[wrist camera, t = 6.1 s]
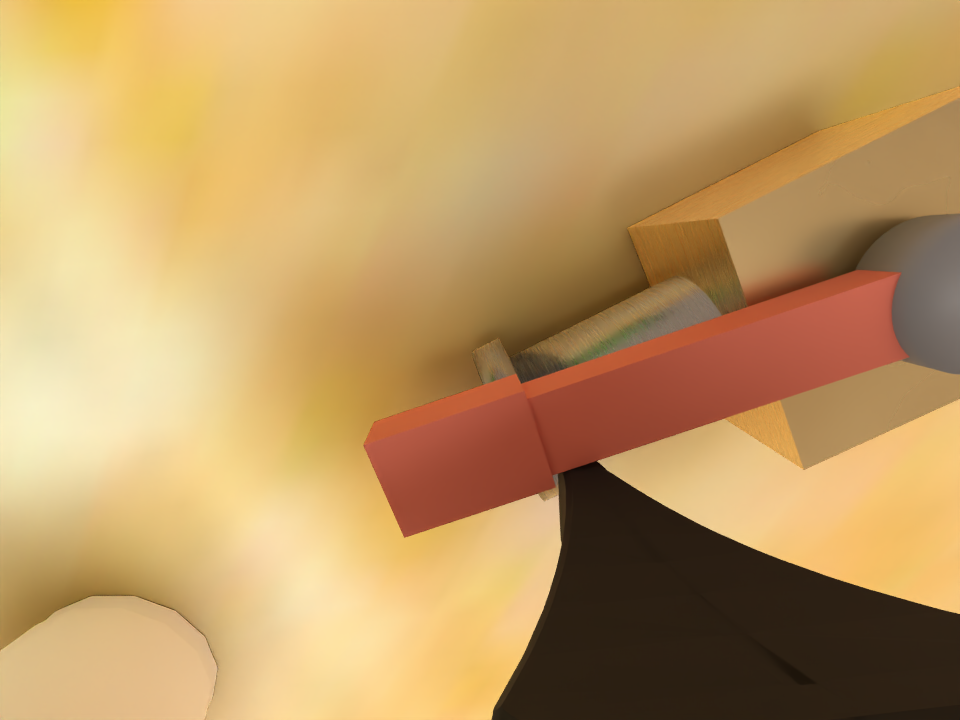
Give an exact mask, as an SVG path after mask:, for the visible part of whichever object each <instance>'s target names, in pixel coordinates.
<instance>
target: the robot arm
mask: <svg viewBox="0 0 960 720" xmlns="http://www.w3.org/2000/svg"><path fill="white" fill-rule="evenodd" d="M558 489H559V510H560V531H561V542H562V546H561V551H560V556H559V560H558V564H557V568H556V572H555V575H554V579H553V582H552V585H551V589H550V592H549V595H548V598H547V601H546V604H545V606H544V609H543V612H542V614H541V616H540V619H539V621H538V623H537V626H536V628H535V630H534V632H533V635H532V637H531V639H530V642H529V644H528V646H527V649H526V651H525V653H524V655H523V657H522V659H521V661H520V662H519V664H518V666H517V668H516V670H515V671H514V673H513V675H512V677H511V679H510V680H509V682H508V684H507V686H506V687H505V689H504V691H503V693H502V695H501V696H500V698H499V700H498V702H497V704H496V705H495V707H494V710H493V716H492V720H960V614H957V613H953V612H948V611H944V610H940V609H937V608H933V607H929V606H925V605H922V604H918V603H915V602H911V601H908V600H904V599H901V598H897V597H894V596H890V595H887V594H883V593H880V592H876V591H873V590H869V589H866V588H863V587H859V586H856V585H853V584H850V583H847V582H844V581H840V580H837V579H834V578H831V577H828V576H825V575H822V574H820V573H817V572H814V571H811V570H808V569H806V568H803V567H800V566H797V565H794V564H792V563H789V562H786V561H783V560H780V559H778V558H775V557H773V556H770V555H768V554H765V553H762V552H760V551H757V550H755V549H753V548H750V547H748V546H746V545H743V544H741V543H739V542H737V541H734V540H732V539H730V538H728V537H725V536H723V535H721V534H718V533H716V532H714V531H712V530H710V529H708V528H706V527H704V526H702V525H700V524H698V523H696V522H694V521H692V520H690V519H688V518H686V517H684V516H683V515H681V514H679V513H677V512H675V511H673V510H671V509H669V508H668V507H666V506H664V505H662V504H661V503H659V502H657V501H655V500H654V499H652V498H650V497H649V496H647V495H645V494H644V493H642V492H640V491H639V490H637V489H635V488H634V487H632V486H631V485H629V484H627V483H626V482H624V481H623V480H621V479H620V478H618V477H617V476H615V475H613V474H612V473H610V472H609V471H607V470H606V469H605V468H604V467H603V466H602V465H601V464H600V463H598V462H597V461H595V462H592V463H589V464H586V465H583V466H580V467H577V468H574V469H571V470H568V471H564V472H561V473H558Z"/></svg>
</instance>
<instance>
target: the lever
mask: <svg viewBox="0 0 960 720" xmlns="http://www.w3.org/2000/svg"><path fill="white" fill-rule="evenodd" d="M899 360H900V361H904V362H908V363H912V364H915V365H919V366H923V367H927V368H931V369H935V370H939V371H942V372H946V373H951V374H959V375H960V213H959V214H943V215H928V216H921V217H917V218H913V219H910V220H907V221H905V222H902V223H900V224H898V225H897V226H895V227H893V228H891V229H890V230H889V231H887V232H886V233H884V234H883V235H882V236H881V237H880V238H878V239H877V240H876V241H875V242H874V243H873V244H872V245H871V247H870V248H869V249H868V250H867V251H866V253H865V254H864V255H863V257H862V258H861V260H860V262H859V263H858V265H857V267H856V269H855V271H852V272H849V273H847V274H844V275H841V276H838V277H835V278H832V279H829V280H826V281H823V282H820V283H817V284H814V285H811V286H808V287H805V288H802V289H799V290H796V291H793V292H791V293H788V294H785V295H782V296H779V297H776V298H773V299H770V300H767V301H764V302H761V303H758V304H755V305H752V306H749V307H746V308H743V309H740V310H737V311H734V312H732V313H729V314H726V315H723V316H720V317H717V318H714V319H711V320H708V321H705V322H702V323H699V324H696V325H693V326H690V327H687V328H684V329H681V330H678V331H675V332H673V333H670V334H667V335H664V336H661V337H658V338H655V339H652V340H649V341H646V342H643V343H640V344H637V345H634V346H631V347H628V348H625V349H622V350H619V351H616V352H614V353H611V354H608V355H605V356H602V357H599V358H596V359H593V360H590V361H587V362H584V363H581V364H578V365H575V366H572V367H569V368H566V369H563V370H560V371H557V372H555V373H552V374H549V375H546V376H543V377H540V378H537V379H534V380H531V381H528V382H525V383H522V384H521V383H520V381H519V379H518V377H517V374H514V375H511V376H508V377H505V378H502V379H499V380H496V381H493V382H490V383H487V384H484V385H481V386H478V387H475V388H473V389H470V390H467V391H464V392H461V393H458V394H455V395H452V396H449V397H446V398H443V399H440V400H437V401H434V402H431V403H428V404H425V405H423V406H420V407H417V408H414V409H411V410H408V411H405V412H402V413H399V414H396V415H393V416H390V417H387V418H384V419H381V420H378V421H375V422H374V424H373V426H372V428H371V430H370V432H369V434H368V437H367V439H366V441H365V443H364V448H365V450H366V452H367V454H368V457H369V459H370V461H371V463H372V466H373V468H374V470H375V472H376V475H377V477H378V479H379V482H380V484H381V486H382V488H383V491H384V493H385V495H386V497H387V500H388V502H389V504H390V506H391V509H392V511H393V513H394V515H395V518H396V520H397V522H398V524H399V527H400V529H401V531H402V533H403V536H404V538H405V537H408V536H411V535H414V534H417V533H420V532H423V531H426V530H429V529H432V528H435V527H438V526H441V525H444V524H447V523H450V522H453V521H456V520H459V519H462V518H465V517H468V516H471V515H474V514H477V513H480V512H483V511H486V510H489V509H492V508H495V507H498V506H502V505H505V504H508V503H511V502H514V501H517V500H520V499H523V498H526V497H529V496H532V495H535V494H538V493H541V492H544V491H547V490H550V489H553V488H556V485H555V482H554V479H553V476H552V475H555V474H558V473H561V472H564V471H568V470H571V469H574V468H577V467H580V466H583V465H586V464H589V463H592V462H595V461H598V460H601V459H604V458H607V457H610V456H613V455H616V454H619V453H622V452H625V451H628V450H631V449H634V448H637V447H640V446H643V445H646V444H649V443H652V442H655V441H658V440H661V439H664V438H667V437H670V436H673V435H676V434H679V433H682V432H685V431H688V430H691V429H694V428H697V427H700V426H703V425H706V424H709V423H712V422H715V421H718V420H721V419H724V418H727V417H730V416H733V415H736V414H739V413H742V412H745V411H748V410H751V409H755V408H758V407H761V406H764V405H767V404H770V403H773V402H776V401H779V400H782V399H785V398H788V397H791V396H794V395H797V394H800V393H803V392H806V391H809V390H812V389H815V388H818V387H821V386H824V385H827V384H830V383H833V382H836V381H839V380H842V379H845V378H848V377H851V376H854V375H857V374H860V373H863V372H866V371H869V370H872V369H875V368H878V367H881V366H884V365H887V364H890V363H893V362H896V361H899Z"/></svg>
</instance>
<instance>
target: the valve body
mask: <svg viewBox="0 0 960 720" xmlns="http://www.w3.org/2000/svg"><path fill="white" fill-rule="evenodd" d="M959 213H960V86H959V87H956V88H953V89H949V90H946V91H943V92H940V93H937V94H934V95H930V96H927V97H924V98H921V99H918V100H915V101H911V102H908V103H905V104H902V105H899V106H896V107H892V108H889V109H886V110H883V111H880V112H877V113H873V114H870V115H867V116H864V117H861V118H858V119H854V120H851V121H848V122H845V123H842V124H839V125H835V126H832V127H829V128H826V129H823V130H820V131H817V132H815V133H814V134H812V135H810V136H808V137H806V138H804V139H802V140H800V141H798V142H796V143H794V144H792V145H790V146H788V147H786V148H784V149H782V150H780V151H778V152H776V153H774V154H772V155H770V156H768V157H766V158H764V159H762V160H760V161H758V162H756V163H754V164H752V165H750V166H748V167H746V168H744V169H742V170H740V171H738V172H737V173H735V174H733V175H731V176H729V177H727V178H725V179H723V180H721V181H719V182H717V183H715V184H713V185H711V186H709V187H707V188H705V189H703V190H701V191H699V192H697V193H695V194H693V195H691V196H689V197H687V198H685V199H683V200H681V201H679V202H677V203H675V204H673V205H671V206H669V207H667V208H665V209H663V210H661V211H659V212H658V213H656V214H654V215H652V216H650V217H648V218H646V219H644V220H642V221H640V222H638V223H636V224H634V225H632V226H630V227H628V228H627V229H628V231H629V234H630V237H631V239H632V242H633V244H634V247H635V249H636V252H637V254H638V257H639V259H640V262H641V264H642V267H643V269H644V272H645V274H646V277H647V280H648V282H649V285H650V288H648V289H646V290H644V291H642V292H640V293H638V294H636V295H634V296H632V297H630V298H628V299H626V300H624V301H622V302H620V303H618V304H616V305H614V306H612V307H610V308H608V309H606V310H604V311H602V312H600V313H598V314H596V315H594V316H592V317H590V318H588V319H586V320H584V321H582V322H580V323H578V324H576V325H574V326H572V327H570V328H568V329H566V330H564V331H562V332H559V333H557V334H555V335H553V336H551V337H549V338H547V339H545V340H543V341H541V342H539V343H537V344H535V345H533V346H531V347H529V348H527V349H525V350H523V351H521V352H519V353H517V354H515V355H513V356H511V357H509V356H508V354H507V352H506V351H505V349H504V347H503V345H502V343H501V341H500V339H499V338H497V339H495V340H493V341H491V342H489V343H487V344H485V345H483V346H481V347H479V348H477V349H475V350H473V351H472V356H473V359H474V362H475V365H476V368H477V370H478V373H479V375H480V378H481V380H482V383H483V385H484V384H487V383H490V382H493V381H496V380H499V379H502V378H505V377H508V376H511V375H514V374H517V377H518V379H519V381H520V383H521V384H522V383H525V382H528V381H531V380H534V379H537V378H540V377H543V376H546V375H549V374H552V373H555V372H557V371H560V370H563V369H566V368H569V367H572V366H575V365H578V364H581V363H584V362H587V361H590V360H593V359H596V358H599V357H602V356H605V355H608V354H611V353H614V352H616V351H619V350H622V349H625V348H628V347H631V346H634V345H637V344H640V343H643V342H646V341H649V340H652V339H655V338H658V337H661V336H664V335H667V334H670V333H673V332H675V331H678V330H681V329H684V328H687V327H690V326H693V325H696V324H699V323H702V322H705V321H708V320H711V319H714V318H717V317H720V316H723V315H726V314H729V313H732V312H734V311H737V310H740V309H743V308H746V307H749V306H752V305H755V304H758V303H761V302H764V301H767V300H770V299H773V298H776V297H779V296H782V295H785V294H788V293H791V292H793V291H796V290H799V289H802V288H805V287H808V286H811V285H814V284H817V283H820V282H823V281H826V280H829V279H832V278H835V277H838V276H841V275H844V274H847V273H849V272H852V271H855V269H856V267H857V265H858V263H859V262H860V260H861V258H862V257H863V255H864V254H865V253H866V251H867V250H868V249H869V248H870V247H871V245H872V244H873V243H874V242H875V241H876V240H877V239H878V238H880V237H881V236H882V235H883V234H884V233H886V232H887V231H889V230H890V229H891V228H893V227H895V226H897V225H898V224H900V223H902V222H905V221H907V220H910V219H913V218H917V217H921V216H928V215H943V214H959ZM958 399H960V375H959V374H951V373H946V372H942V371H939V370H935V369H931V368H927V367H923V366H919V365H915V364H912V363H908V362H904V361H900V360H899V361H896V362H893V363H890V364H887V365H884V366H881V367H878V368H875V369H872V370H869V371H866V372H863V373H860V374H857V375H854V376H851V377H848V378H845V379H842V380H839V381H836V382H833V383H830V384H827V385H824V386H821V387H818V388H815V389H812V390H809V391H806V392H803V393H800V394H797V395H794V396H791V397H788V398H785V399H782V400H779V401H776V402H773V403H770V404H767V405H764V406H761V407H758V408H755V409H751V410H748V411H745V412H742V413H739V414H736V415H733V416H730V417H727V418H724V419H726V420H728V421H729V422H731V423H732V424H734V425H735V426H737V427H738V428H740V429H741V430H743V431H745V432H746V433H748V434H749V435H751V436H752V437H754V438H755V439H757V440H759V441H760V442H762V443H763V444H765V445H766V446H768V447H769V448H771V449H772V450H774V451H776V452H777V453H779V454H780V455H782V456H783V457H785V458H786V459H788V460H790V461H791V462H793V463H794V464H796V465H797V466H799V467H800V468H802V469H803V470H805V469H807V468H809V467H811V466H813V465H816V464H818V463H820V462H822V461H824V460H827V459H829V458H831V457H833V456H835V455H838V454H840V453H842V452H844V451H846V450H849V449H851V448H853V447H855V446H857V445H859V444H862V443H864V442H866V441H868V440H870V439H873V438H875V437H877V436H879V435H881V434H884V433H886V432H888V431H890V430H892V429H895V428H897V427H899V426H901V425H903V424H906V423H908V422H910V421H912V420H914V419H916V418H919V417H921V416H923V415H925V414H927V413H930V412H932V411H934V410H936V409H938V408H941V407H943V406H945V405H947V404H949V403H952V402H954V401H956V400H958ZM552 476H553V479H554V482H555V485H556V488H553V489H550V490H547V491H544V492H541V493H538V494H539V495H540V497H541V498H542V499H543V500H544V501H546V500H548V499H550V498H553V497H555V496H557V495H559V489H558V474H555V475H552Z"/></svg>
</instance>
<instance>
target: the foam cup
mask: <svg viewBox="0 0 960 720" xmlns="http://www.w3.org/2000/svg"><path fill="white" fill-rule="evenodd" d="M217 670H218V667H217V665H216V662H215V660H214V658H213V655H212V653H211V650H210V648H209V645H208V643H207V641H206V638H205V636H203V635H202V634H201V633H200V632H199V631H198V630H197V629H196V628H194V627H193V626H192V625H191V624H190V623H189V622H188V621H186V620H185V619H184V618H183V617H182V616H181V615H180V614H178V613H177V612H176V611H175V610H172V609H169V608H166V607H164V606H161V605H158V604H155V603H153V602H150V601H147V600H144V599H142V598H139V597H136V596H90V597H88V598H85V599H83V600H81V601H78V602H76V603H74V604H71V605H69V606H67V607H64V608H62V609H59V610H57V611H55V612H54V613H53V614H52V615H51V616H50V617H48V618H47V619H46V620H45V621H44V622H41V623H39V624H36V625H35V626H33V627H32V628H31V629H29V630H28V631H27V632H25V633H24V634H22V635H21V636H20V637H18V638H17V639H16V640H14V641H13V642H11V643H10V644H9V645H7V646H6V647H5V648H3V649H2V650H0V720H205V718H206V713H207V708H208V706H209V704H210V702H211V700H212V698H213V693H214V687H215V681H216V676H217Z"/></svg>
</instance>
